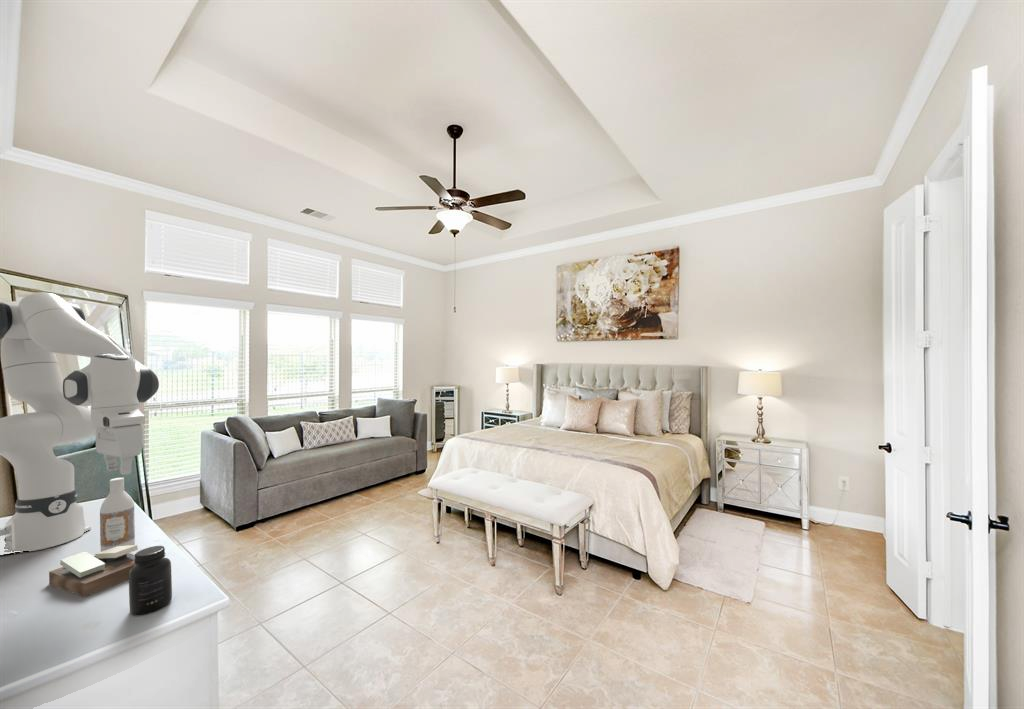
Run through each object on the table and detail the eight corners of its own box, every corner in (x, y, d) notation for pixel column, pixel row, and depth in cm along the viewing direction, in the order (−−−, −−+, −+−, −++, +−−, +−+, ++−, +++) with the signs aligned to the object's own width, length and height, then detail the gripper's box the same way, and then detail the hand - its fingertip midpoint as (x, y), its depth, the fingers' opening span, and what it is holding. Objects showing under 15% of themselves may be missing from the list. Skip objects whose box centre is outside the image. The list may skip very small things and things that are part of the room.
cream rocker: (95, 558, 102) (95, 553, 102) (118, 550, 106) (117, 546, 106) (115, 557, 99) (115, 552, 99) (137, 549, 103) (137, 544, 103)
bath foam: (97, 558, 110) (95, 484, 110) (104, 548, 115) (103, 478, 116) (131, 551, 114) (130, 479, 114) (137, 542, 119) (136, 473, 120)
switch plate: (49, 584, 97) (49, 567, 97) (113, 560, 108) (113, 545, 108) (84, 597, 91) (84, 579, 91) (149, 570, 102) (149, 554, 102)
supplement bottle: (128, 607, 87) (127, 550, 87) (170, 593, 92) (169, 540, 92) (129, 621, 82) (128, 561, 82) (173, 606, 87) (172, 549, 87)
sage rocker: (60, 564, 96) (60, 559, 96) (85, 555, 100) (85, 551, 100) (79, 577, 93) (80, 572, 93) (104, 568, 97) (105, 563, 97)
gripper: (86, 418, 105) (88, 472, 105) (112, 420, 95) (115, 479, 95) (118, 415, 111) (121, 465, 111) (147, 416, 100) (150, 472, 100)
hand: (118, 472), depth 102 cm, fingers open, 8 cm apart
